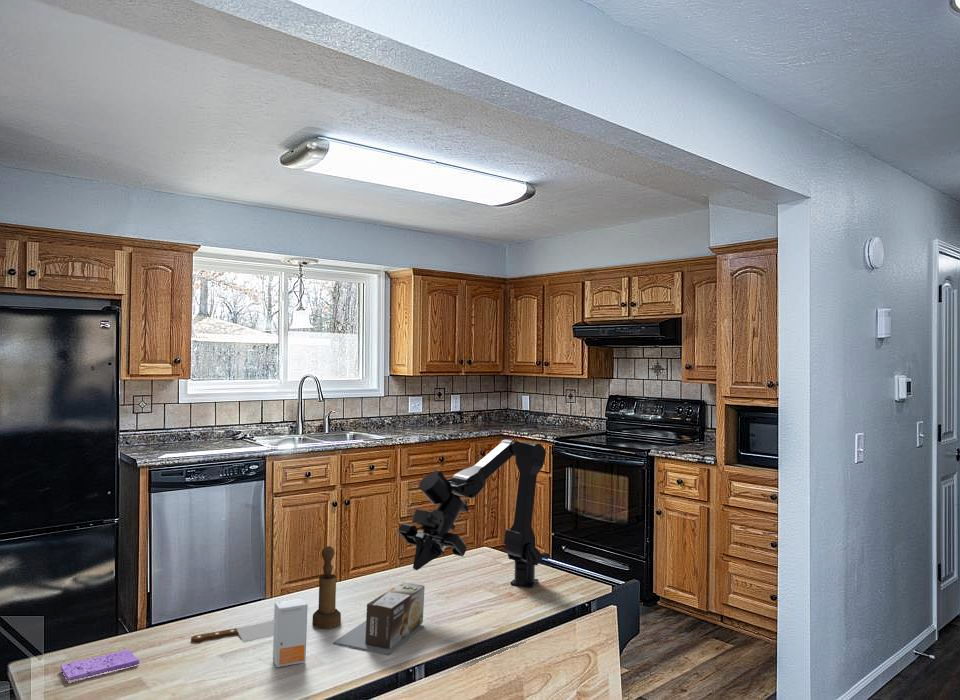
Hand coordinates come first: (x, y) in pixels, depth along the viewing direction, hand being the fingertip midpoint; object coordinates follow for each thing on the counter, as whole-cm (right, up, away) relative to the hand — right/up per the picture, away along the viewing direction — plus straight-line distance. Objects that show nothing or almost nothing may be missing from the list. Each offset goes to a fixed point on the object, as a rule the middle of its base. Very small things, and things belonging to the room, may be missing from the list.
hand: (414, 569), depth 163 cm
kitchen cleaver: (-36, -12, -10) cm, 40 cm away
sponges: (-60, -11, -28) cm, 67 cm away
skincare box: (-24, -11, -24) cm, 36 cm away
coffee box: (0, -7, -2) cm, 8 cm away
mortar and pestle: (-21, -12, -4) cm, 24 cm away
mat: (-7, -12, -10) cm, 17 cm away
